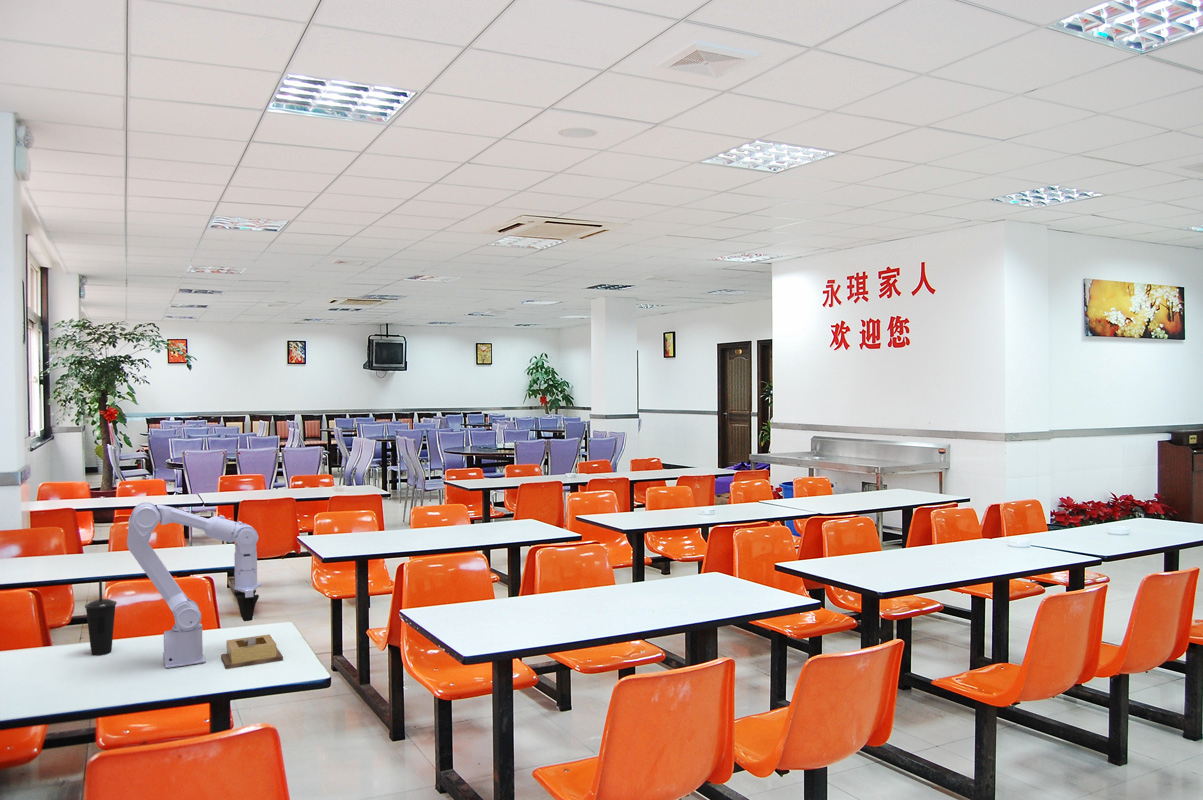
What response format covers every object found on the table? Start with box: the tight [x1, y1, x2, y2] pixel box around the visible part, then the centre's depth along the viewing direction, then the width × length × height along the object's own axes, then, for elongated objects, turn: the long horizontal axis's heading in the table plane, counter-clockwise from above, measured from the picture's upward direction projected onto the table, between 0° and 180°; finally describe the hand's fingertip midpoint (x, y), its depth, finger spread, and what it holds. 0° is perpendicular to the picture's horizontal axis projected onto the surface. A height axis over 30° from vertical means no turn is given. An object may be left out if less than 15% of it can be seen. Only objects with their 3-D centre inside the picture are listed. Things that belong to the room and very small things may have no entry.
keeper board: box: [220, 636, 284, 670], centre depth 232 cm, size 14×11×6 cm
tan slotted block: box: [225, 634, 277, 664], centre depth 232 cm, size 11×11×4 cm
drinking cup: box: [84, 580, 118, 657], centre depth 240 cm, size 8×8×20 cm
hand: (246, 618), depth 238 cm, fingers open, 4 cm apart
